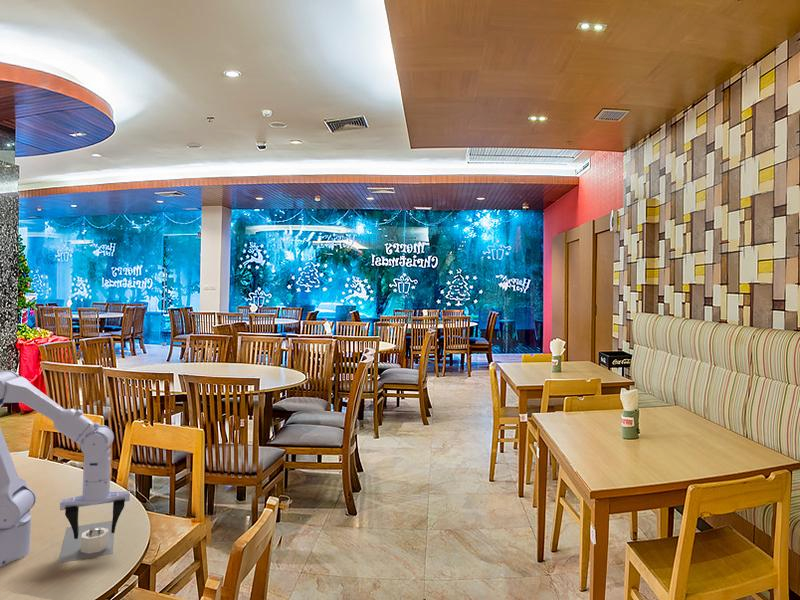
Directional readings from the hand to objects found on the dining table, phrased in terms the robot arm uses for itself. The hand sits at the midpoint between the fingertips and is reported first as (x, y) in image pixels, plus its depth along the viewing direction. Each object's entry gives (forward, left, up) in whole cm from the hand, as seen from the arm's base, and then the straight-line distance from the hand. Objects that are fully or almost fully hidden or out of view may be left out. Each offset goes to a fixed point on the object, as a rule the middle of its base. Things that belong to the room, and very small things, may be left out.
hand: (94, 534), depth 126 cm
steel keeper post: (0, 0, -3) cm, 3 cm away
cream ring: (0, 0, -3) cm, 3 cm away
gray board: (+3, +4, -4) cm, 7 cm away
